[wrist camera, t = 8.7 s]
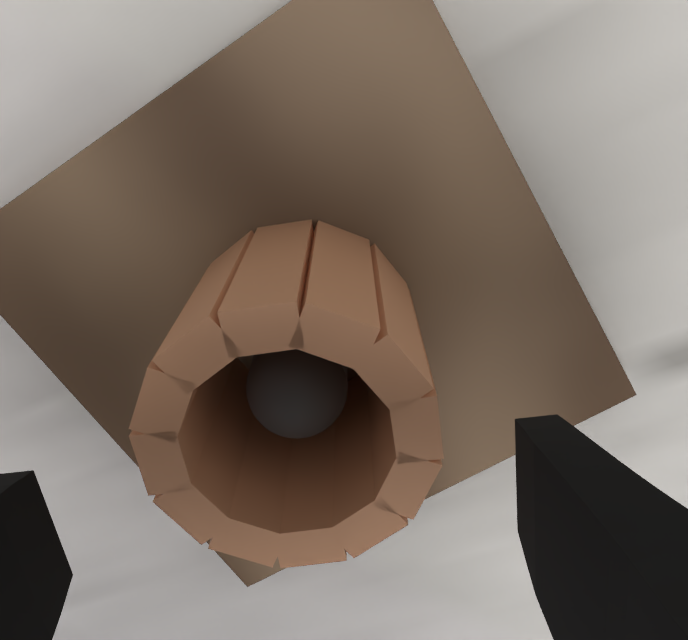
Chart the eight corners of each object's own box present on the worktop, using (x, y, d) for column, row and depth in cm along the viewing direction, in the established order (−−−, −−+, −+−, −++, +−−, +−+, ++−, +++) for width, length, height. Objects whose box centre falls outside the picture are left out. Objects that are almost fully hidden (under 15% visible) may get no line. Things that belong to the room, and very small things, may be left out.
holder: (252, 561, 20) (223, 719, 15) (-35, 238, 16) (-191, 319, 11) (621, 376, 17) (721, 497, 13) (391, -65, 13) (416, -122, 9)
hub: (222, 432, 17) (176, 580, 12) (171, 240, 15) (93, 330, 10) (423, 406, 16) (453, 548, 12) (399, 206, 14) (425, 283, 10)
